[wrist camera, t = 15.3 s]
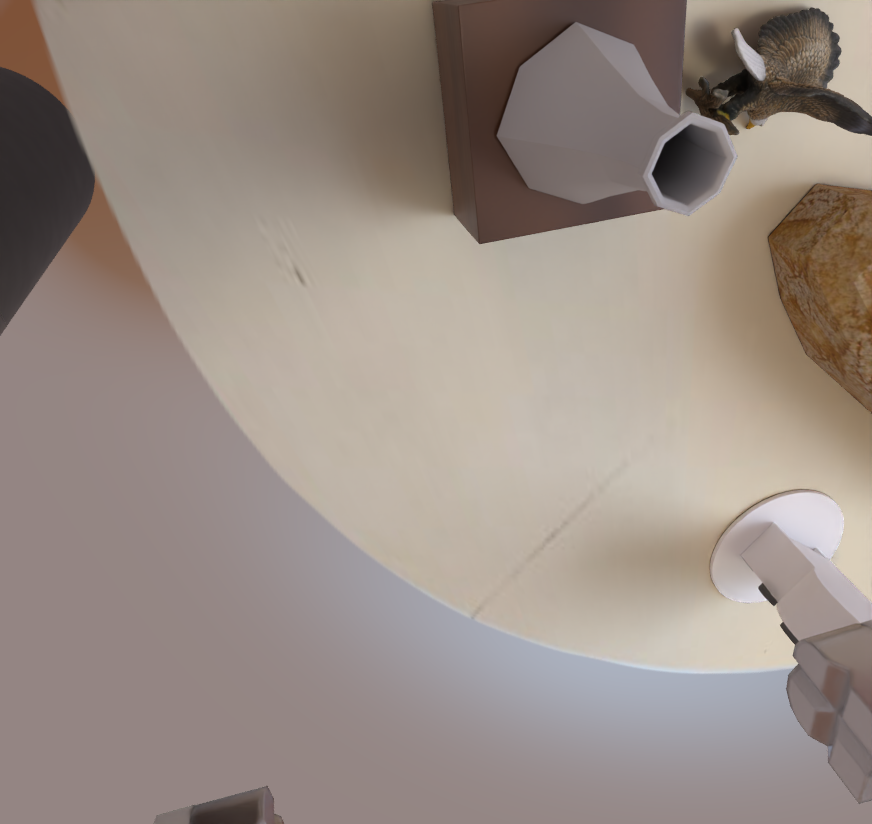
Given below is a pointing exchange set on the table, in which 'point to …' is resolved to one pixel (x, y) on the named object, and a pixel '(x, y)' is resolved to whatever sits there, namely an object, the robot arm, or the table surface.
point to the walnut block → (491, 87)
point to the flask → (608, 128)
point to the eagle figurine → (784, 77)
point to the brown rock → (830, 282)
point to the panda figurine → (790, 564)
